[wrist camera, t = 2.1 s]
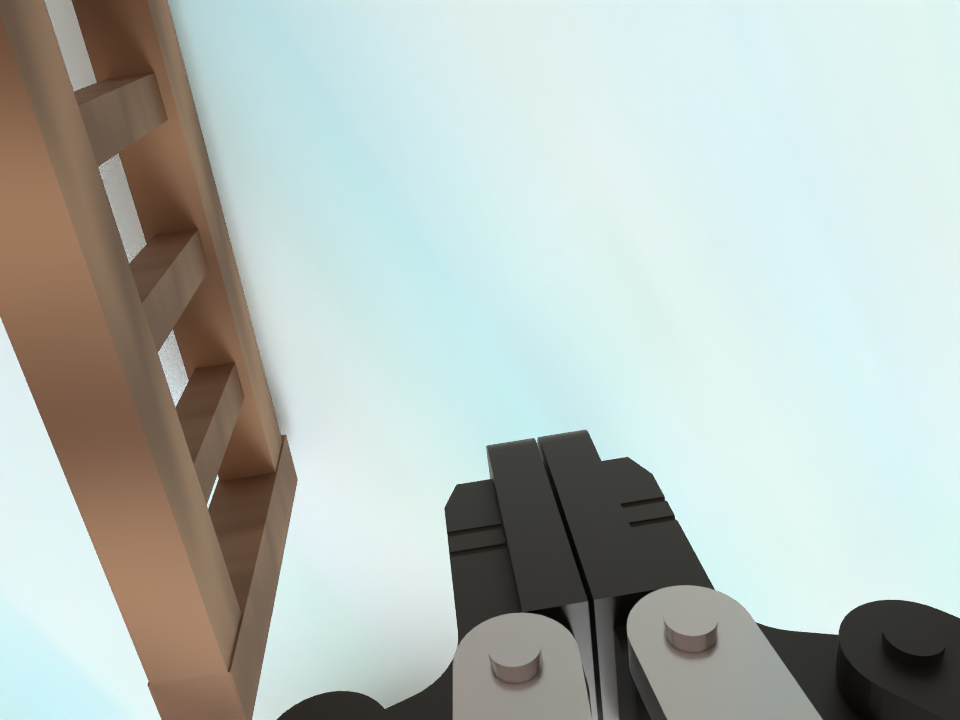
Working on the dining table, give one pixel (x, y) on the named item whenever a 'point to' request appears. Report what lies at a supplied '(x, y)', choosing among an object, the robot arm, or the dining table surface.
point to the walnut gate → (143, 348)
